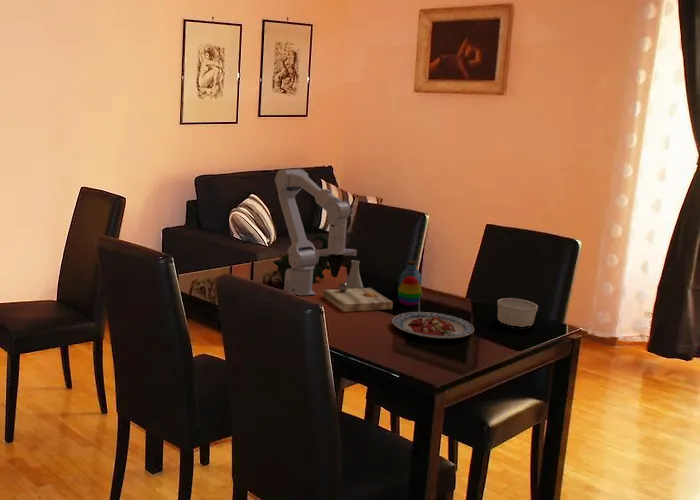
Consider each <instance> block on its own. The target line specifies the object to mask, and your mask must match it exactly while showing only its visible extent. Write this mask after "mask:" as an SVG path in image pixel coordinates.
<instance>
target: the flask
mask: <svg viewBox="0 0 700 500" xmlns="http://www.w3.org/2000/svg"><path fill="white" fill-rule="evenodd" d="M350 262H351V267H350V270H349V273H348V275H347V278H346V280H345V282H344V283H346V284H347V285H348V289H354V288H364V285H363V282H362V281H363V280H362V278H361V274H360V263H361V262H360V260H355V259H354V260H351V261H350Z"/></svg>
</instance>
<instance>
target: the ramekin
mask: <svg viewBox="0 0 700 500" xmlns="http://www.w3.org/2000/svg"><path fill="white" fill-rule="evenodd" d="M496 302H497V304H496V305H497V320H498V322H499V321H500V322H501V323H504V324H507V325H511V326H519V327H525V326H530V327H531V326H532V325H533V324H534V323H535V322H534V321H535V318H536V316H537V315H536V314H537V312H538V309H539V306H538V304H536V303H534V302H533V301H529V300H526V299H522V298H515V297H514V298H513V297H507V298H500V299H498V300H497V301H496ZM500 322H499V323H500ZM501 323H500V324H501Z"/></svg>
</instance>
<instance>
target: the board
mask: <svg viewBox="0 0 700 500" xmlns="http://www.w3.org/2000/svg"><path fill="white" fill-rule="evenodd" d="M368 293H372V294H373V295H374V297H366V295H367V294H368ZM322 297H323V298H325V299H326V300H327V301H329V303H332V304H333V305H334V306H336V307H337V308H338V309H339V310H341V312H343V313H344V312H360V311H362V312H363V311H381V310H382V311H383V310H392V309H393V306H394V305H393V304H394V302H393V301H392V300H390V299H389V298H387V297H386V296H384V295H382V294H381V293H379V292H378V291H377V290H375V289H373V288H372V287H363V288H354V289H347V290H346V291H344V292H343V291H340V289H339V288H334V289H323V296H322Z"/></svg>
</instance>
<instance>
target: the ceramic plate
mask: <svg viewBox="0 0 700 500" xmlns="http://www.w3.org/2000/svg"><path fill="white" fill-rule="evenodd" d="M391 322H392V324H393V325H394V326H395V327H396V328H397V329H399V330H401V331H403V332H406V333H408V334H412V335H415V336H419V337H423V338H426V339H437V340H445V339H457V338H464V337H467V336H470V335H472V334H473V333H474V331H475V328H474V326H473V325H472V324H471V323H470V322H469V321H467V320H464V319H462V318H460V317H457V316H453V315H449V314H444V313H437V312H430V311H429V312H428V311H427V312H426V311H410V312H404V313H400V314H397V315H396V316H394V317H393V318H392V321H391Z"/></svg>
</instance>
